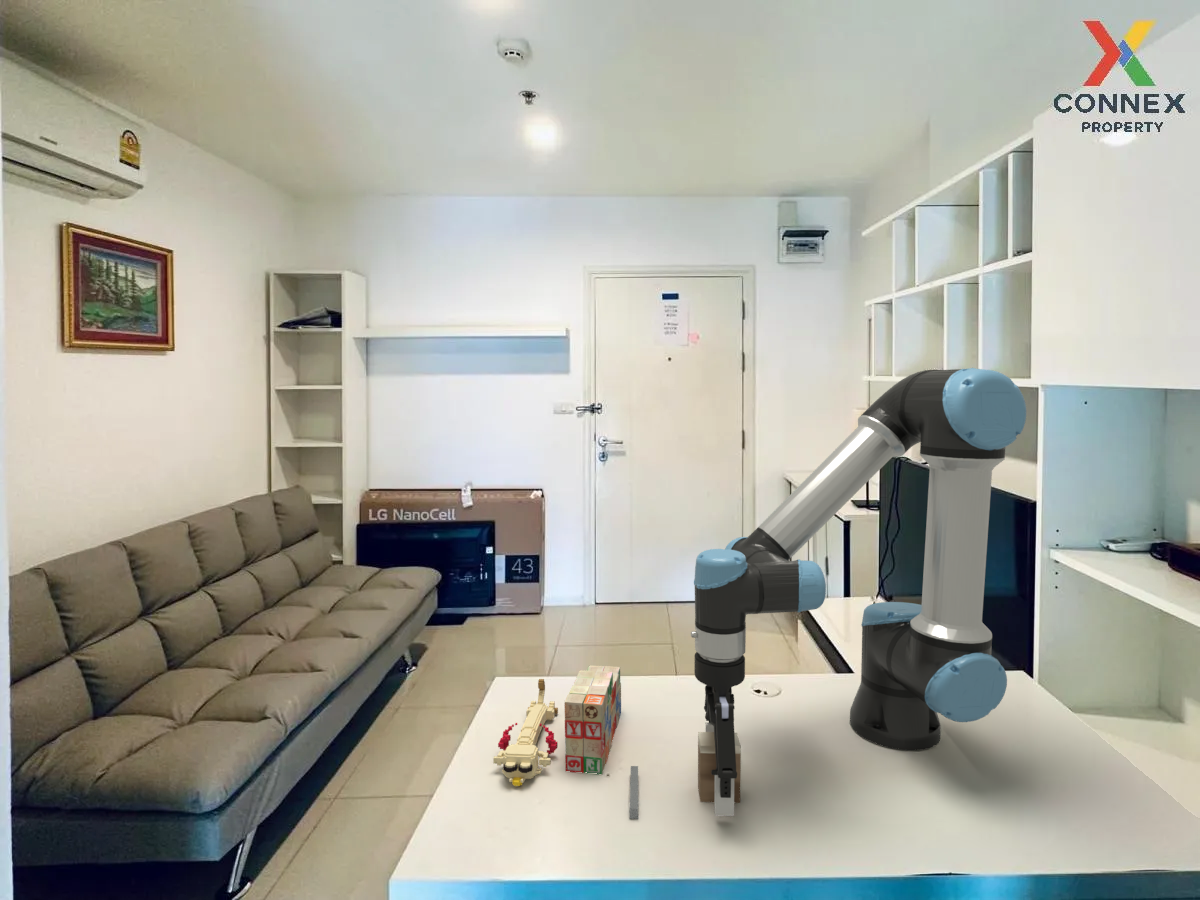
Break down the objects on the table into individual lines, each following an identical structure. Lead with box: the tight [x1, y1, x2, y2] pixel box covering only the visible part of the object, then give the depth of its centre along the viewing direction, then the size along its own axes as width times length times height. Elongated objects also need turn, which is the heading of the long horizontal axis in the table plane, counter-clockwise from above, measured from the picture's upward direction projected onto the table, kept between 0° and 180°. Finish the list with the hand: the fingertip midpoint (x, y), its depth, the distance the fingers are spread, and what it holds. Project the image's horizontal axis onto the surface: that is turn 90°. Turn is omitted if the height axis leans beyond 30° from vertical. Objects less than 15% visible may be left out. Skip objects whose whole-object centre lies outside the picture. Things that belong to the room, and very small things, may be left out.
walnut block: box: [697, 731, 742, 804], centre depth 104 cm, size 6×4×9 cm, turn 87°
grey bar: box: [629, 765, 639, 820], centre depth 104 cm, size 1×11×2 cm, turn 177°
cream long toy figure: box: [492, 678, 559, 787], centre depth 118 cm, size 10×9×25 cm
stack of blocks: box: [564, 665, 622, 775], centre depth 120 cm, size 21×6×12 cm, turn 170°
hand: (718, 786), depth 104 cm, fingers open, 13 cm apart
